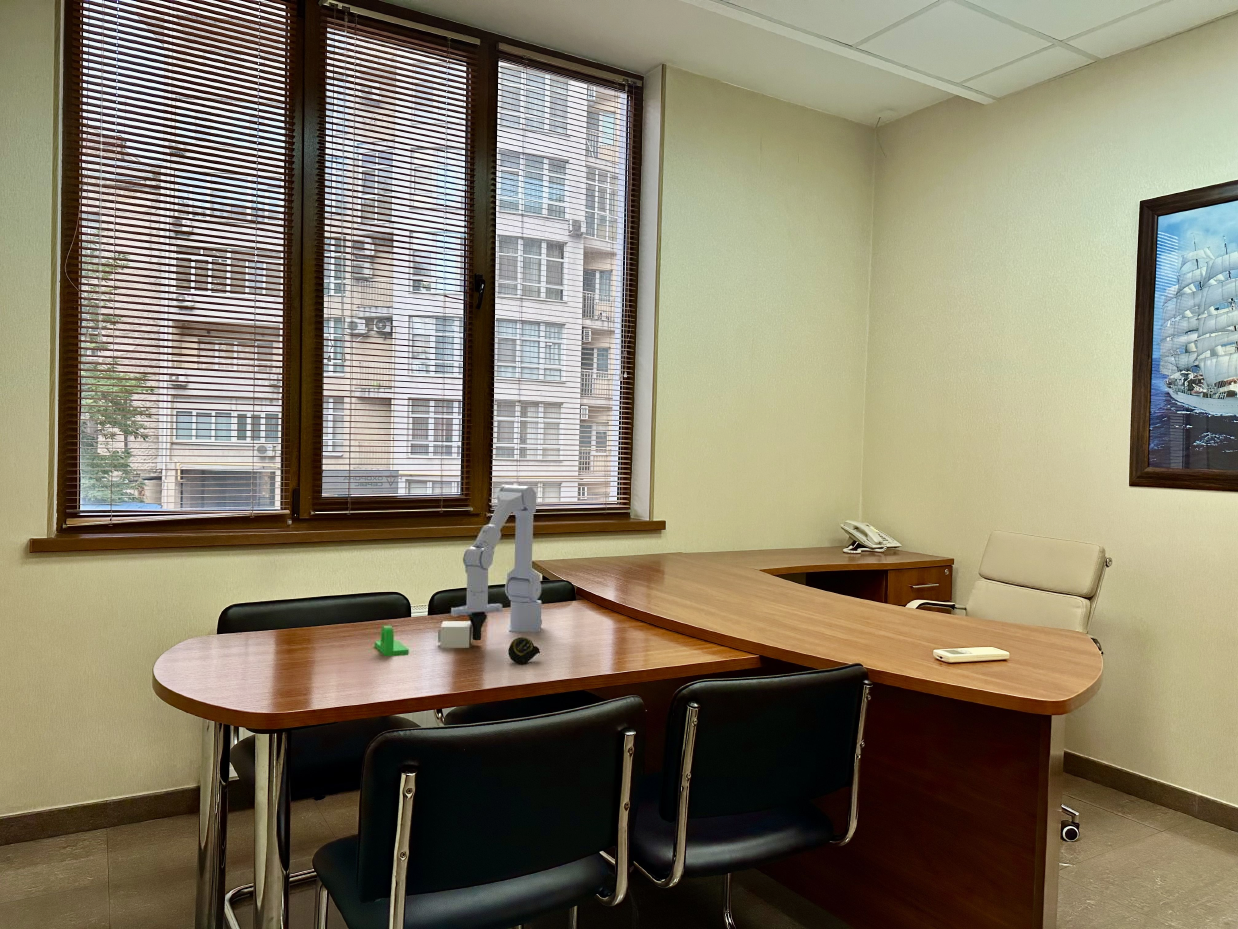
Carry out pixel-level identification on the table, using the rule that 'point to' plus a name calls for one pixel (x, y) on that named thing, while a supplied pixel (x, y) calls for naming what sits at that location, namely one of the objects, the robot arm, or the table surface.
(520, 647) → the tape measure
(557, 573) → the table surface
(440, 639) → the steel pin
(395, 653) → the mechanical part
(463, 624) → the white block
